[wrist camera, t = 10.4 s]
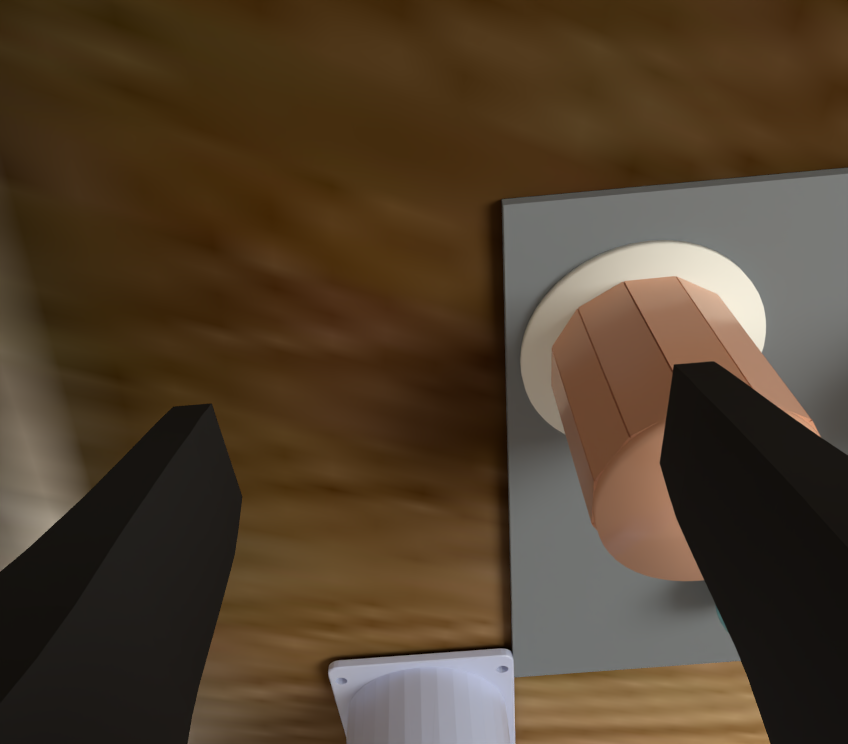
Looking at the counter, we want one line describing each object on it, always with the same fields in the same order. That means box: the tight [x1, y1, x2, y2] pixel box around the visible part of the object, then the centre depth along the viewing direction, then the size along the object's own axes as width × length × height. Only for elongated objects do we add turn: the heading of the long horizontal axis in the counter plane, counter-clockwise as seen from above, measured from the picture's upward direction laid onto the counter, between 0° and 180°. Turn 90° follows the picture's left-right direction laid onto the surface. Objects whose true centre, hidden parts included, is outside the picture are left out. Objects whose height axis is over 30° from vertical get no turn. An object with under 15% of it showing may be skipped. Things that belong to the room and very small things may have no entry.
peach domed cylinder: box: [551, 276, 821, 581], centre depth 19 cm, size 5×5×6 cm
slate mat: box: [502, 168, 848, 677], centre depth 25 cm, size 22×20×1 cm
